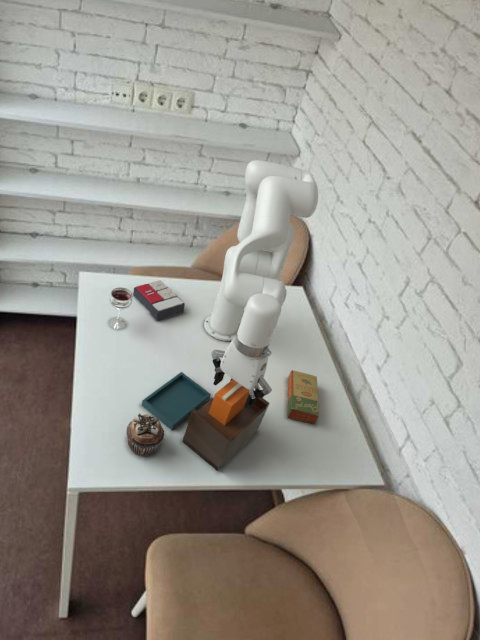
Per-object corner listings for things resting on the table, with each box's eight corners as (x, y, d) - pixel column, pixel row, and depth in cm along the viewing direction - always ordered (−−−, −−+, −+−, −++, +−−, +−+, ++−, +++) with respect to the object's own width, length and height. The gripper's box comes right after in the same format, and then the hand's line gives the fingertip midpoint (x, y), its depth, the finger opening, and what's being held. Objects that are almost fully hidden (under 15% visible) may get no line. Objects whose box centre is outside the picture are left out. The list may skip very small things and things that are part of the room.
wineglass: (132, 323, 171) (137, 294, 163) (119, 334, 166) (123, 304, 158) (115, 313, 173) (119, 284, 165) (102, 323, 168) (105, 294, 161)
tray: (180, 376, 157) (181, 371, 156) (209, 398, 153) (211, 394, 152) (141, 405, 146) (142, 400, 145) (171, 430, 142) (172, 425, 141)
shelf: (222, 406, 152) (233, 376, 144) (256, 432, 147) (269, 402, 139) (182, 441, 140) (191, 411, 132) (217, 471, 135) (229, 441, 127)
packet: (227, 396, 141) (235, 375, 136) (243, 408, 139) (252, 386, 134) (208, 413, 136) (215, 391, 130) (224, 425, 134) (232, 403, 128)
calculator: (160, 278, 186) (185, 302, 177) (159, 288, 188) (183, 312, 180) (133, 285, 180) (158, 310, 171) (132, 295, 182) (156, 321, 174)
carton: (312, 385, 165) (317, 375, 163) (314, 425, 153) (320, 415, 150) (286, 378, 165) (291, 369, 163) (286, 418, 153) (291, 408, 150)
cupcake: (165, 456, 135) (172, 432, 129) (128, 462, 132) (133, 437, 126) (156, 426, 142) (162, 401, 136) (120, 430, 139) (125, 405, 132)
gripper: (291, 356, 121) (269, 406, 132) (230, 316, 128) (214, 367, 139) (273, 372, 116) (252, 422, 127) (211, 329, 123) (196, 380, 134)
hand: (232, 393), depth 133 cm, fingers open, 9 cm apart
